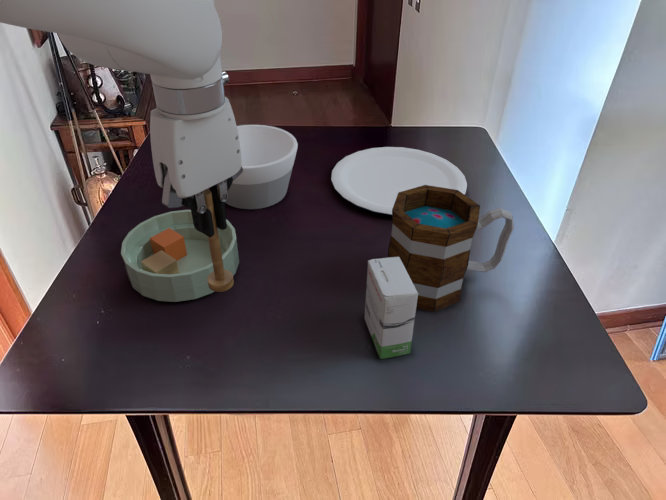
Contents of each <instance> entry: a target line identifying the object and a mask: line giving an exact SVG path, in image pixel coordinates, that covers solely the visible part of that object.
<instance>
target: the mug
mask: <svg viewBox="0 0 666 500" xmlns="http://www.w3.org/2000/svg"><path fill="white" fill-rule="evenodd" d="M480 209H481V205H480V204H478V203H477V202H476V201H474V200H472V199H471V198H469V197H468V196H467V195H466V194H465V195H464V194H463V193H461V192H460V191H459V190H454V189H448V188H442V187H436V186H429V185H423V186H419V187H416V188H413V189H409V190H406V191H402V192H399V193H398V195H397V198H396V200H395V203H394V206H393V209H392V215H391V216H392V217H391V218H392V225H391V233H390V240H389V244H388V249H387V258H388V257H400V259H401V261H402V263H403V265H404V267H405V269H406V271H407V273H408V275H409V277H410V279H411V281H412V283H413V285H414V287H415V289H416V290H417V292H418V298H417V306H416V309H418V310H419V309H420V310H424V311H429V312H437V311H439V310H441V309H444V308H447V307H449V306H452V305H455V304H456V303H459V302H460V301H461V296H462V290H463V289H462V288H463V282H464V277H465V275H466V272H467V271H473V272H480V273H487V272H489V271H493V270H495V269H496V268H497V267H498V265H500V263H501V262H502V261H503V258H504V255H505V253H506V250H507V247H508V243H509V240H510V238H511V236H512V234H513V231H514V228H515V225H514V217H513V213H512V212H510V211H508V210H506V209H503V208H501V207H498V208H495V209H491V210H489V211H487V212H486V213H485V214H484V215H482V216H481V217H480ZM501 218H503V219H505V220H504V221H505V222H504V223H505V224H504V225H503V228H502V230H501V232H500V235H499V238H498V240H497V244H496V247H495V251H494V254H493V255H492V257H491V258H489V260H487V261H484V262H479V261H475V260H470V254H471V248H472V247H471V246H472V243H473V239H474V236H475V233H476V231H478V230H482V229H485V228H486V227H488V226H489V225H490V224H491V223H493V222H494V221H496V220H499V219H501Z"/></svg>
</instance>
